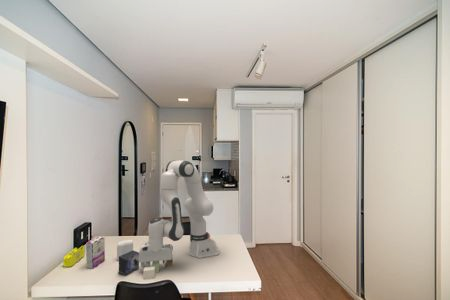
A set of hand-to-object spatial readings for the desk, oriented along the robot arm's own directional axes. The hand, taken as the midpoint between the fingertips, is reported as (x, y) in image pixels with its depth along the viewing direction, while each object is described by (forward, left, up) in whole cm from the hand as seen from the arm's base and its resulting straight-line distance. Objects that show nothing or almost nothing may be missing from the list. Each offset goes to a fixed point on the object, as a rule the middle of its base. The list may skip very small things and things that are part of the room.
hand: (155, 267), depth 145 cm
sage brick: (0, 0, -2) cm, 2 cm away
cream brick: (+3, +7, -2) cm, 8 cm away
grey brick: (+7, -7, -2) cm, 10 cm away
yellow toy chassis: (+54, -22, -2) cm, 59 cm away
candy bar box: (+39, -15, -2) cm, 42 cm away
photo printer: (+22, -20, -2) cm, 30 cm away
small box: (+16, -2, -2) cm, 16 cm away
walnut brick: (-7, -6, -2) cm, 9 cm away
